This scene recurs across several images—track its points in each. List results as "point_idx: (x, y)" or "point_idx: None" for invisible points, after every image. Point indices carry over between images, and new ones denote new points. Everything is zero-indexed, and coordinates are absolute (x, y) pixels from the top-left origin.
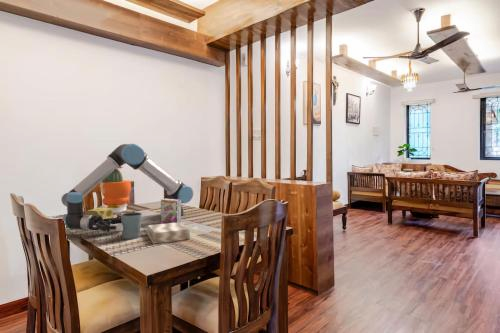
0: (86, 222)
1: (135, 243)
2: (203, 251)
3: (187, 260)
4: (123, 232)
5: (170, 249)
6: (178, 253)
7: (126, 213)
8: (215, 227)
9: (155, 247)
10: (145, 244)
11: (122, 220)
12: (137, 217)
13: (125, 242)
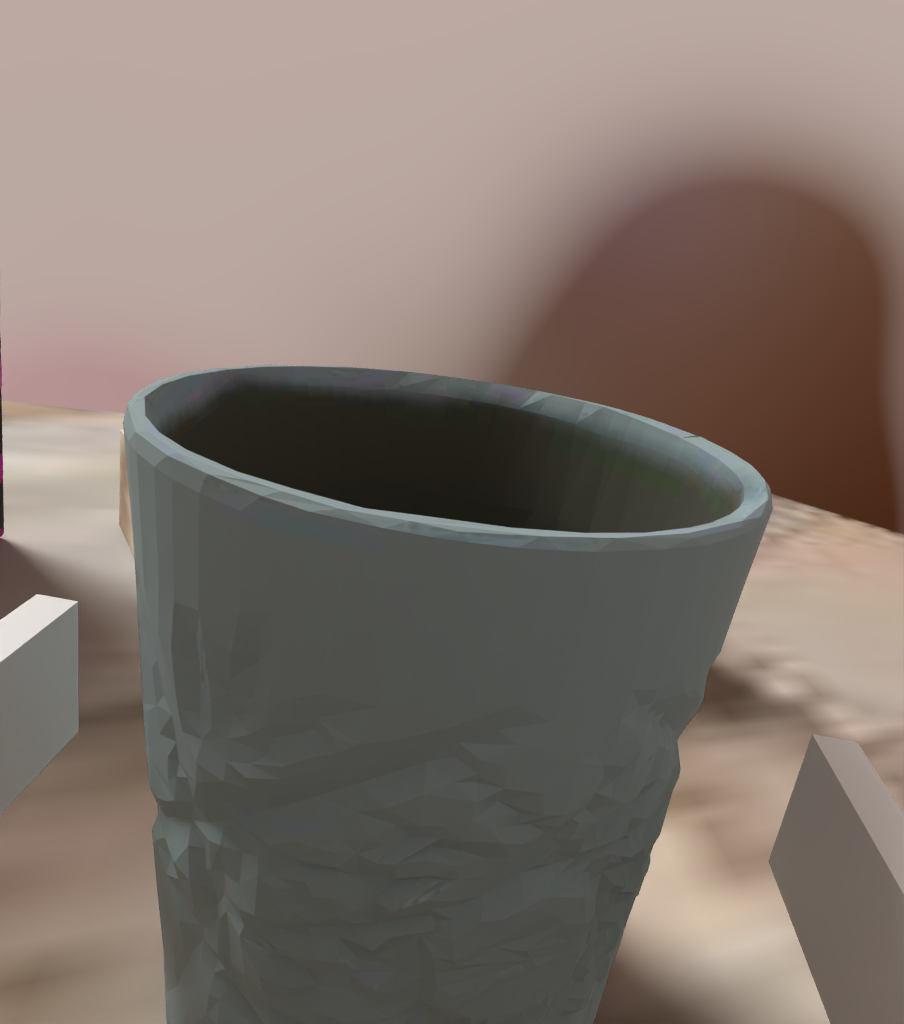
0: None
1: (766, 817)
2: None
3: (900, 541)
4: (599, 983)
5: (768, 583)
6: (820, 559)
7: (226, 491)
8: (87, 412)
9: (784, 649)
10: (742, 719)
11: (700, 684)
12: (564, 447)
13: (804, 972)
